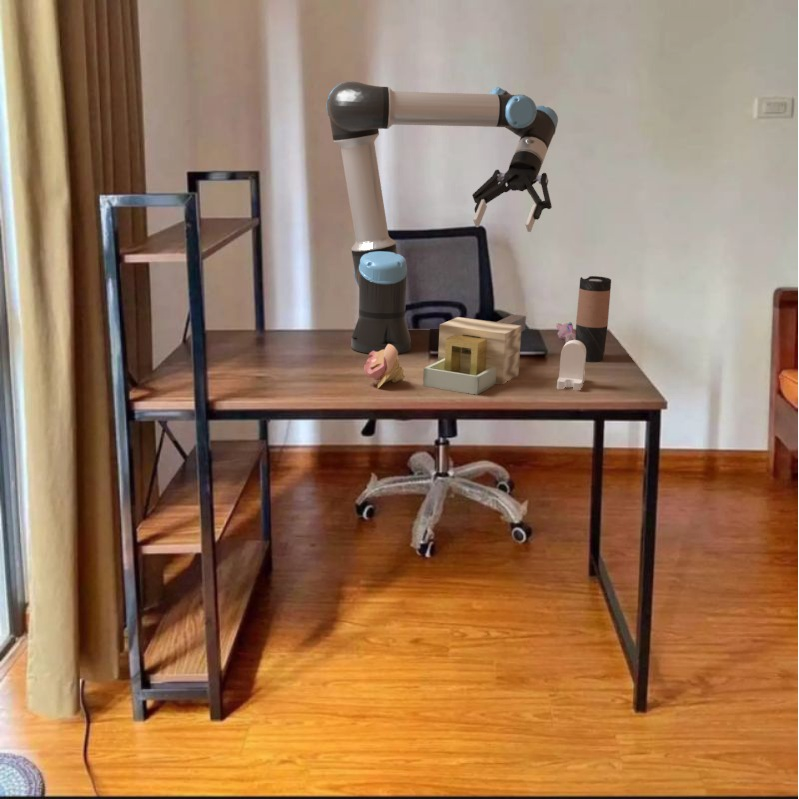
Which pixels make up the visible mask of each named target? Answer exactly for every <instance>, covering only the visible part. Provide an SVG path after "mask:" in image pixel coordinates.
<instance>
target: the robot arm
mask: <svg viewBox="0 0 799 799" xmlns="http://www.w3.org/2000/svg"><path fill="white" fill-rule="evenodd" d="M326 112H327V116H328V118H329V123H330V128H331V134H332V141H333V143H334V144H336V145H338V147H339V148H340V150H341V151H340V153H341V158H342V163H343V164H342V165H343V170H344V177H345V182H346V183H345V184H346V189H347V196H348V202H349V208H350V213H351V219H352V225H353V232H354V238H355V243H353V245H352V246H351V249H350V250H351V257H352V261H353V262H352V263H353V276H354V280H355V283H356V285H357V286H358V291H359V292H358V318H357V321H356V324H355V327H354V330H353V333H352V336H351V340H350V341H351V343H350V348H351V349H353V350H354V351H356V352H359V353H363V354H369V353H370V352H372V351H375V352H379V351H380V350H384V349H385V348H386V346H387V345H388V344H391V345H393V346H394V347H395V348H396V350H397V351H398V354H403V353H407V352H409V351H410V350H411V349H412V339H411V335H410V332H409V327H408V324H407V320H406V298H407V297H406V296H407V292H406V291H407V275H408V266H407V259H406V258H405V257H404V256H402V254H399V253H398V251H397V249H398V248H397V244H396V241H395V240H394V239H393V238H391V237H390V236H389V230H388V224H387V222H388V221H387V216H386V210H385V204H384V199H383V198H384V197H383V192H382V191H383V190H382V185H381V184H382V182H381V178H380V177H381V176H380V171H379V164H378V158H377V152H376V151H377V150H376V145H375V141H376V139H378V137H379V135H380V132H379V131H380V130H383V129H385V130H388V129H390V127H392V126H395V125H398V126H401V125H403V126H405V125H406V126H448V127H489V128H490V127H493V128H494V127H495V128H506V129H507V130H508V131H510V132H512V133H513V134H514V135H516V136H518V137H520V138H519V141H518V143H517V147H516V149H515V151H514V154H513V155H512V157H511V158H512V159H511V161H510V163H509V166H508V169H507V171H506V172H501V171H500V170H499V169H495V170H494V172H493V174H492V175H491V177H489V178H488V179H487V180H486V181H485V182H484V183H483V184H482V185H480V187H479V188H477V190H476V191H474V192H473V193H472V195H471V196H472V198H473V200H474V203H475V207H474V212H475V214H474V217H473V219H472V221H473V222H474V225H475V228H479V226H480V224H481V222H482V220H483V217H484V215H485V212H486V210H487V208H488V206H487V204H488V203H490V202H491V201H494V199H496V198H498V197H499V196H501V195H502V194H504V193H508V192H510V191H513V192H514V191H515V192H516V191H519V192H524V191H527V193H528V195H529V196H531V199H532V201H533V202H534V203H533V204H532V206H531V209H530V210H529V211H530V212H529V214H528V217H527V219H526V222H525V224H524V225H525V227H526V230H527V232H529V233H531V232H532V229H533V227H534V224H535V223H536V220H539V219H540V217H541V215H542V212H543V211H544V209H548V210H551V209H552V207H553V205H552V201H551V198H550V194H549V189H548V184H549V178H548V173H547V172H543V173H541V175H539V174H540V172H541V169H542V166H543V163H544V161H545V158H546V156H547V152H548V150H549V147H550V145H551V142H552V141H553V140H552V139H553V138H554V135H555V133H556V130H557V126H558V122H559V116H558V114H557V112H555V110H554V109H552V108H551V107H549V106H545V105H536V103H535V101H534V100H533V99H532V98H531V97H530V96H527V95H525V94H511V93H510V92H508V91H507V90H505V89H503V88H501V87H499V86H496V87H494V88H493V89H492V90H491V91H490V92H489V93H465V92H464V93H462V92H461V93H457V92H456V93H454V92H425V91H424V92H423V91H422V92H419V91H394V90H393V89H391V87H390V86H381V85H380V86H379V85H372V84H367V83H362V82H360V81H345V82H341V83H339V84H337V85H336V86H335V87H334V88H333V89H332V90H331V91H330V93H329V95H328V98H327V101H326ZM537 182H538V184H539V185H541V190H542V194H543V199H544V200H542V199H541V198H540V195H539V194H538V192H537V190H536V189H535V188H534V184H537Z"/></svg>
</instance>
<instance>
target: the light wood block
mask: <svg viewBox="0 0 799 799" xmlns="http://www.w3.org/2000/svg"><path fill="white" fill-rule="evenodd" d="M521 328H522V326H520V325H513V324H506V323H498V322H497V321H491V320H483V319H475V318H467V317H459V316H456V317H454V318H452V319H450V320H448V321H445V322H443V323H440V324H439V330H438V355H437V356H438V357H437V362H438V361H440V360H442V359H444V358H445V348H446V338H448V337H451V336H453V335H455V334H456V335H463V336H467V335H470V336H477V337H481V338H484V339H487V345H486V363H485V371H486V370H487V369H489V368H491V367H493V366H496V367H497V373H496V384H495V385H499V384H501V385H502V384H503V385H505V384H506V383H508V382H509V381H511V380H513V379H515V378H516V377H518V376H519V372H520V357H521V341H522V332H521ZM470 365H471V351H467V350H466V348H464V347H461V353H460V373H463V374H469V375H470ZM507 381H508V382H507Z"/></svg>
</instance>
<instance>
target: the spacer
mask: <svg viewBox="0 0 799 799" xmlns="http://www.w3.org/2000/svg"><path fill="white" fill-rule="evenodd" d="M486 345H487V339H484V338H477V337H470V336H463V335H456V334H455V335H453V336H451V337H448V338H446V348H445V371H450V372H456V373H460V353H461V347H464V348H471V365H470V375H475V376H477V375H478V374H480V373H482V372H484V371H485V363H486Z"/></svg>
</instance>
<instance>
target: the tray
mask: <svg viewBox="0 0 799 799" xmlns="http://www.w3.org/2000/svg"><path fill="white" fill-rule="evenodd" d="M496 373H497V367H496V366H493V367H491V368H489V369H487V370H486V371H484V372H482V373H480V374H478V375H477V376H475V375H469V374H463V373H456V372H450V371H445V358H444V359H442V360H440V361H438V360H437V361H436V362H434V363H432V364H429V365H427V366H425V367H424V368H423V374H422V375H423V378H422V386H423V387H428V388H434V389H441V390H444V391H445V390H446V391H452V392H458V393H464V394H468V393H469V395H474V394H475V395H474V396H478V395H480V394H482V393H483V392H485V391H486V390H488V389H490V388H492V387H494V386H495V385H497V384H496ZM494 384H495V385H494Z"/></svg>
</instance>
